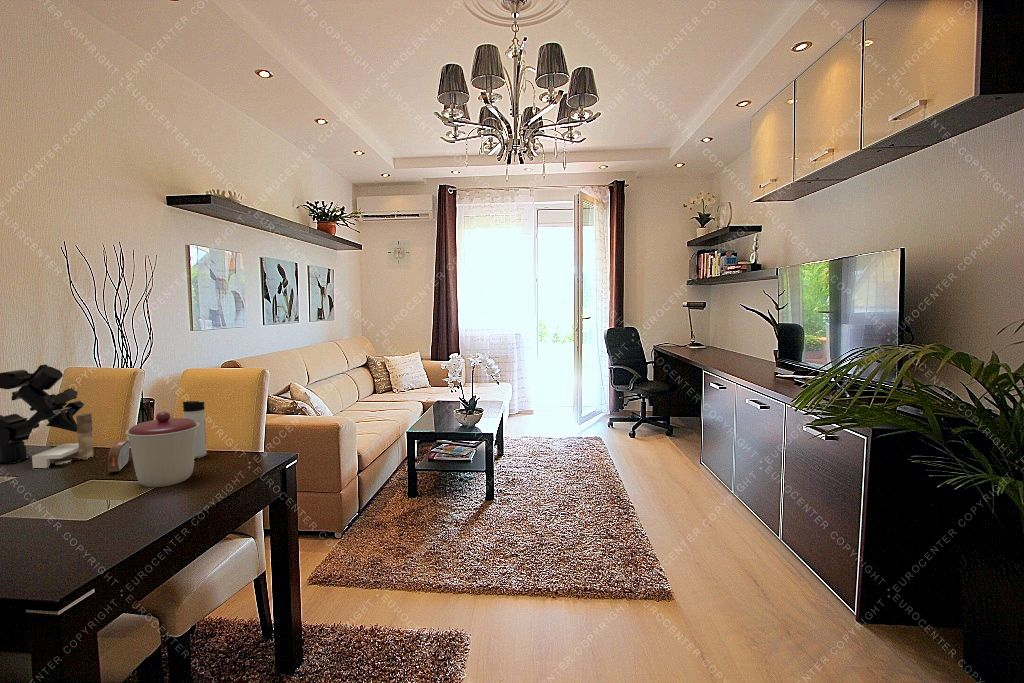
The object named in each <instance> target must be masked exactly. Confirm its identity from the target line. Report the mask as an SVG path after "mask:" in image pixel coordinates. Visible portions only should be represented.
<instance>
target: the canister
mask: <svg viewBox="0 0 1024 683" xmlns="http://www.w3.org/2000/svg"><path fill="white" fill-rule="evenodd" d="M155 418H156V419H153V420H147V421H143V422H139V423H137V424H135V425H133V426H131V427H130V428H129V429H127V430H125V433H124V434H125V435H126V436H128V441H129V442H130V453H131V457H132V462H133V467H134V471H135V475H136V479H137V480H138V482H139V484H140V485H141V486H143V487H147V488H161V487H162V488H163V487H168V486H172V485H177V484H180V483H182V482H185V481H186V480H187V479H189V478H190V477H191V476H192V475H193V472H194V467H195V460H194V459H195V448H196V436H197V428H198V427H199V425H200V424H199V423H198V422H195V421H194V420H191V419H186V418H184V417H171V414H170V413H169V412H168V411H160V412H158V413H157V414H156V415H155Z"/></svg>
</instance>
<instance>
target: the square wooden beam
mask: <svg viewBox="0 0 1024 683" xmlns="http://www.w3.org/2000/svg"><path fill="white" fill-rule="evenodd" d="M75 418H76V424H77V432H76V433H77V438H78V439H77V440H78V442H77V443H79V454H72V455H68V456H65V457H63V458H60V459H66V458H79V459H78V460H80V459H83V460H89V459H91V458H90V457H92V458H93V457H94V445H93V444H94V443H93V442H94V441H93V418H92V413H81V414H79V415H76V417H75ZM88 458H89V459H88ZM60 459H49V462H50V464H51V463H53V462H54V461H56V460H60ZM53 464H54V463H53ZM51 465H52V464H51Z"/></svg>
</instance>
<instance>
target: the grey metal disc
mask: <svg viewBox="0 0 1024 683" xmlns="http://www.w3.org/2000/svg"><path fill="white" fill-rule="evenodd" d="M71 461H72V462H73V459H71V458H66V459H60V460H56V461H54V463H55V464H63V463H68V462H71ZM54 463H53V464H54Z"/></svg>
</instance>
